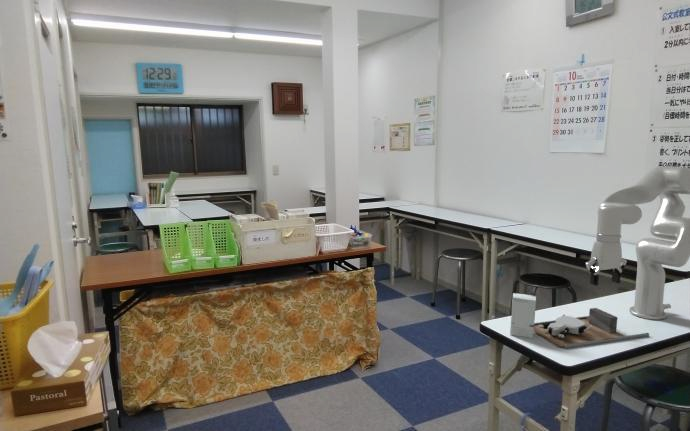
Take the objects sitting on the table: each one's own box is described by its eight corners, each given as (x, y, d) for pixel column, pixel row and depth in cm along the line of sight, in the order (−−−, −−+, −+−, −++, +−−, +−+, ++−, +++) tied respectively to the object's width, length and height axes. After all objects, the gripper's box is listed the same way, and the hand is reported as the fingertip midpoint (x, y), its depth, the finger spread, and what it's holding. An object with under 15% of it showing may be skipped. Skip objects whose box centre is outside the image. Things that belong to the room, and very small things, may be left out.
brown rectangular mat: (588, 319, 178) (589, 304, 177) (626, 338, 160) (627, 321, 159) (527, 327, 171) (527, 311, 170) (559, 348, 154) (560, 330, 153)
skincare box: (510, 335, 165) (511, 297, 163) (510, 329, 171) (512, 292, 168) (534, 338, 162) (536, 300, 160) (534, 332, 167) (536, 294, 165)
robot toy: (562, 345, 156) (593, 335, 162) (562, 333, 156) (593, 323, 161) (536, 332, 168) (565, 323, 173) (535, 321, 167) (565, 312, 172)
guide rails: (605, 316, 181) (605, 313, 180) (648, 336, 161) (649, 333, 161) (527, 326, 172) (528, 323, 172) (564, 349, 153) (564, 346, 153)
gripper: (619, 235, 169) (615, 278, 171) (580, 238, 165) (577, 282, 167) (636, 239, 161) (632, 284, 164) (596, 242, 157) (593, 288, 160)
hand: (604, 283), depth 166 cm, fingers open, 9 cm apart
